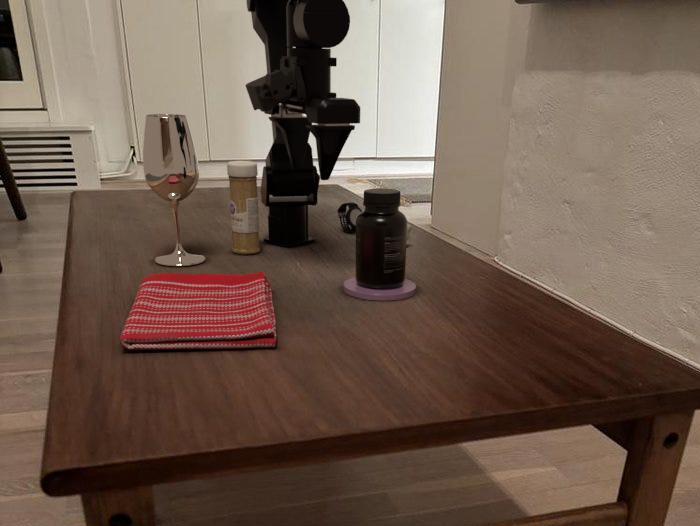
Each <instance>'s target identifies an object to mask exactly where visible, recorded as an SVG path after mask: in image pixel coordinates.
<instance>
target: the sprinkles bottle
mask: <svg viewBox="0 0 700 526" xmlns="http://www.w3.org/2000/svg"><path fill="white" fill-rule="evenodd" d="M226 172H227V176H228V183H229V185H228V186H229V199H230V201H229V209H230V228H231V243H232V247H231V250H232V252H233V253H234V254H238V255H243V256H244V255H245V256H247V255H255V254H258V253H260V252H261V247H260V222H259V219H260V217H259V197H258V182H257V181H258V180H257V179H258V177H257V176H259V175H258V163H257V162H255V161H250V160H231V161H228V162H227V163H226Z"/></svg>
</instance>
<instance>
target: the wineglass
mask: <svg viewBox="0 0 700 526" xmlns="http://www.w3.org/2000/svg"><path fill="white" fill-rule="evenodd" d="M187 117H188V116H187V115H185V114H176V113H175V114H174V113H153V114H152V113H151V114H146V115H145V122H144V130H143V131H144V132H143V142H142V143H143V145H142V167H143V169H142V170H143V174H144V175H143V176H144V179H145V181H146V183H147V185H148V187H149V188H150V189H151V191H152V192H153V193H154V194H156V195H157V196H158V197H159V198H161V199H163V200H165V201H167V202H169V204H170V206H171V209H172V210H171V211H172V215H173V223H174V232H175V233H174V234H175V242H176V243H175V249H174V251H173V252H172V253H170V252H169V253H164V254H161V255H158V256H157V257H155V258H154V263H156V264H158V265H161V266H164V267H173V268H174V267H175V268H176V267H191V266H192V267H193V266H197V265H200V264H202V263H204V262H205V261H206V257H205V256H204V255H203V254H200V253H195V252H194V253H193V252H186V251H185V249H184V248H183V246H182V245H183V244H182V238H181V229H180V217H179V210H180V209H179V206H180V203H181V202H182V201H184V200H186V199H187V198H188V197H189V196H191V194H192V193H193V192H194V191H195V190H196V188H197V185H198V184H199V179H200V167H199V159H198V153H197V150H196V146H195V143H194V142H195V141H194V137H193V135H192V131H191V128H190V124H189V121H188V118H187Z"/></svg>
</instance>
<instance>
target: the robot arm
mask: <svg viewBox="0 0 700 526" xmlns="http://www.w3.org/2000/svg"><path fill="white" fill-rule="evenodd" d="M246 8H247V12H248V13H251V14H250V15H251V23H252V28H253V30H254V32H255V33H256V35H257V36H258V38H259V39H260V40H261V42H262V43H263V45H264V52H265V53H264V54H265V63H266V64H265V65H266V74H265V75H263V76H261V77H259V78H256V79H254V80H252V81H249V82H247V83H246V84H245V88H246V91H247V94H248V97H249V100H250V103H251V106H252V108H253V110H254V111H257V110H259V111H260V112H262V113H264V114H266V115H270V116H269V117H268V119H269V121H270V122H271V130H272V145H271V147H270V149H269V151H268V152H267V155H266V157H265V162H264V163H265V165H264V166H263V168H262V175H261V182H260V197H261V199H260V200H261V203H262V204H263V205H264V207H266V208H268V214H267V229H268V230H267V231H268V236H267V237H264V238H263V239H262V240H263V242H265V243H270V244H274V245H277V246H278V245H279V246H282V247H287V248H293V247H297V246H302V245H307V244H309V243H314V242H316V238H315V237H310V236H309V206H314V207H315V206H317V204H318V194H319V186H320V180H321V181H329V179H330V177H331V175H332V173H333V171H334V169H335V167H336V164H337V161H338V159H339V157H340V155H341V152H342V150H343V148H344V147H345V144H346V143H347V141H348V138H349V137H350V135H351V133H352V131H355V129H356V125H354V124H361V106H360V104H359V103H358V102H357V100H355V99H353V98H348V97H347V98H346V97H337V92H331V89H332V87H331V83H332V82H331V81H332V78H331V75H332V71H331V70H332V67H337V65H338V64H337V62H338V61H337V59H338V58H337V57H331V53H332V50H331V49H332V48H335V47H336V46H338V45H340V44H341V43H342V42H343V41H344V40H345V39H346V37H347V35H348V33H349V31H350V25H351V15H350V12H349V8H348V7H347V5H346V3H345V1H344V0H246ZM304 115H306V116H304ZM310 134H312V135H313V137H314V138H315V145H316V154H317V155H316V156H317V164H318V169H317V166H316V165H314V158H313V148H312V146H311V145H310V143H309V138H310ZM270 196H272V197H270Z"/></svg>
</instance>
